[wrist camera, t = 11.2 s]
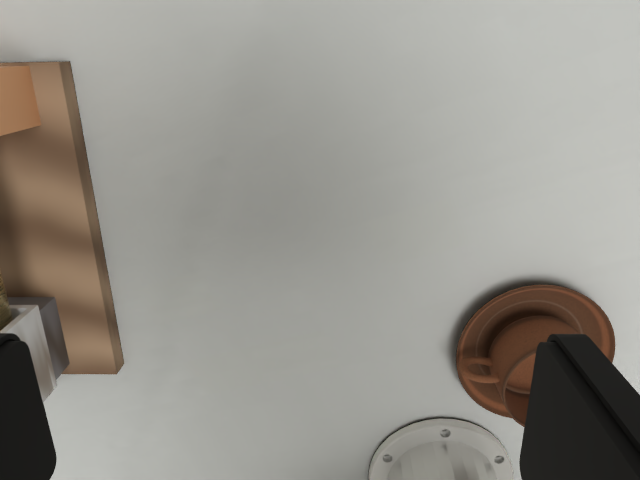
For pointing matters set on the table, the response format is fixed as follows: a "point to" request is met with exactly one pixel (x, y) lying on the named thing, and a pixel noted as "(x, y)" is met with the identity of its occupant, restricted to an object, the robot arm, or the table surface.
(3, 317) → the brass tube
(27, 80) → the socket
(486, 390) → the cup and saucer
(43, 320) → the rig
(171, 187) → the table surface
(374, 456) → the robot arm
